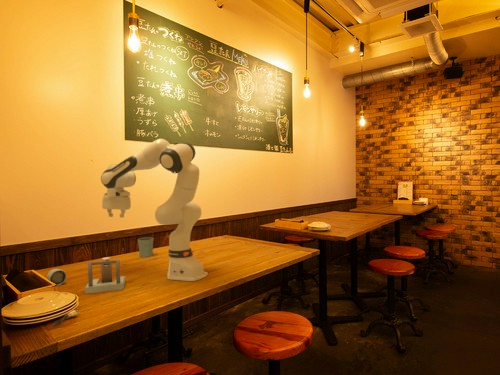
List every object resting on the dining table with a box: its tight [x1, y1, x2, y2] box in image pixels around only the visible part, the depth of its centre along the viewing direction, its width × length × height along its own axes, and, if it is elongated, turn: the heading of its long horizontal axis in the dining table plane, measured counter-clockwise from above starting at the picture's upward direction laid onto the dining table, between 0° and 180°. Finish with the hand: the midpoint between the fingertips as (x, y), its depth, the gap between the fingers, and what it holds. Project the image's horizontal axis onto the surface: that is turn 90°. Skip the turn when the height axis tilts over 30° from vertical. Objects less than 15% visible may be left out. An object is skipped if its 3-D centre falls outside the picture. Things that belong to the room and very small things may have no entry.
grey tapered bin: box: [137, 237, 154, 258], centre depth 214 cm, size 10×10×12 cm
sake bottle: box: [100, 256, 114, 283], centre depth 154 cm, size 5×5×14 cm
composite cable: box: [52, 309, 81, 327], centre depth 118 cm, size 10×5×2 cm, turn 154°
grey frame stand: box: [84, 259, 126, 295], centre depth 152 cm, size 12×16×14 cm
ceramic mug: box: [46, 268, 68, 287], centre depth 158 cm, size 11×8×8 cm
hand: (116, 217), depth 179 cm, fingers open, 8 cm apart
